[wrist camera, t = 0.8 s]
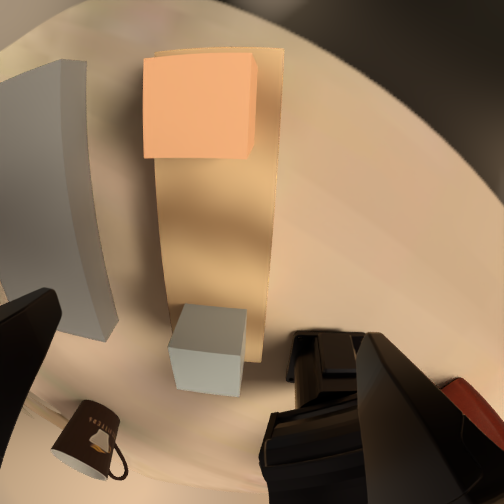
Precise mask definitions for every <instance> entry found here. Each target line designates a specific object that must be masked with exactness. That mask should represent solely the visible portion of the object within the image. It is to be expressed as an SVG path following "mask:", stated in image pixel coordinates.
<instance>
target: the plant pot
mask: <svg viewBox="0 0 504 504" xmlns="http://www.w3.org/2000/svg"><path fill="white" fill-rule="evenodd" d="M441 391H442V392H443V393H444V394H445V395H446V396H447V397H448V398H449V399H450V400H451V401H452V402H453V403H454V404H455V405H456V406H457V407H458V408H459V409H460V410H461V411H462V412H463V414H465V415H466V416H467V417H468V418H469V419H470V420H471V421H472V422H473V423H474V424H475V425H476V426H477V427H478V428H479V429H480V430H481V431H482V432H483V433H484V434H485V435H486V436H487V437H488V438H489V439H491V440H492V441H493V442H494V443H495V444H496V445H497V446H498V447H500V448H501V449H502V450H503V451H504V422H503V420H502V419H501V418H500V417H499V415H498V414H497V413H496V412H495V410H494V409H493V408H492V407H491V406H490V405H489V404H488V402H487V401H486V400H485V399H484V398H483V397H482V396H481V395H480V394H479V393H478V392H477V391H476V390H475V389H474V388H473V387H472V386H471V385H470V384H469V383H468V382H467V381H466V380H464V379H463V378H459V379H456V380H454V381H453V382H451V383H450V384H449V385H447V386H446V387H444V388H443V389H441Z"/></svg>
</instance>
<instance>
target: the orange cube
mask: <svg viewBox="0 0 504 504" xmlns="http://www.w3.org/2000/svg"><path fill="white" fill-rule="evenodd" d="M257 73H258V66H257V64H256V61H255V59H254V57H253V55H252V53H198V54H183V55H172V56H162V57H154V58H146V59H144V69H143V143H144V158H222V159H247V158H248V156H249V154H250V152H251V150H252V148H253V146H254V137H255V116H256V94H257Z"/></svg>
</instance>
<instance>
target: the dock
mask: <svg viewBox="0 0 504 504" xmlns="http://www.w3.org/2000/svg"><path fill="white" fill-rule="evenodd" d="M86 66H87V61H78V60H65V59H60V60H57V61H54V62H51V63H48V64H46V65H43V66H40V67H37V68H35V69H32V70H29V71H27V72H24V73H22V74H19V75H17V76H15V77H12V78H10V79H8V80H6V81H3V82H1V83H0V281H1V283H2V286H3V289H4V291H5V294H6V296H7V298H8V301H9V302H10V301H12V300H15V299H17V298H19V297H21V296H24V295H26V294H28V293H31V292H33V291H35V290H38V289H40V288H42V287H47V288H51V289H54V290H55V291H56V293H57V296H58V300H59V303H60V306H61V309H62V318H61V320H60V323H59V325H58V327H57V331H61V332H65V333H68V334H72V335H76V336H80V337H84V338H89V339H93V340H97V341H102V342H106V341H107V339H108V338H109V336H110V334H111V333H112V331H113V329H114V328H115V326H116V324H117V323H118V321H119V320H118V316H117V312H116V309H115V305H114V301H113V297H112V293H111V289H110V285H109V281H108V277H107V272H106V268H105V263H104V258H103V254H102V249H101V243H100V238H99V232H98V227H97V221H96V214H95V208H94V201H93V193H92V185H91V176H90V166H89V155H88V141H87V121H86Z"/></svg>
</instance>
